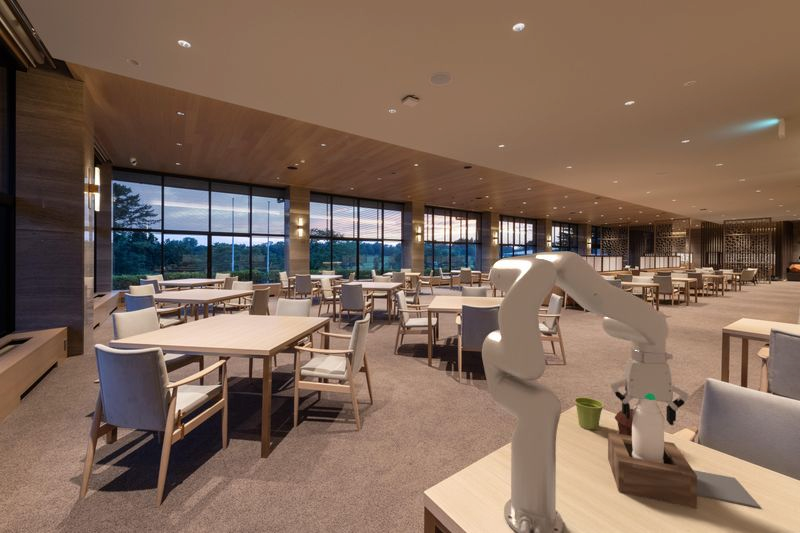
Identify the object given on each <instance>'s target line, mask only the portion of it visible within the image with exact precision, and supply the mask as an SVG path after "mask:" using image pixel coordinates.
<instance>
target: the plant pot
mask: <svg viewBox="0 0 800 533" xmlns="http://www.w3.org/2000/svg"><path fill="white" fill-rule="evenodd" d="M573 402H574V403H575V407H576V411H577V412H576V413H577V419H578V425H579V426H580V427H582V428H583V429H585V430H593V431H594V430H595V431H596V430H598V429H599V425H600V420H601V414H602V410H603V408H604V407H605V406H604V405H605V404H604V403H603V402H601V400H597V399H594V398H591V397H585V396H584V397H583V396H582V397H579V396H578V397H575V398H574V399H573Z"/></svg>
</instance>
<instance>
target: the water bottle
mask: <svg viewBox="0 0 800 533" xmlns="http://www.w3.org/2000/svg"><path fill="white" fill-rule="evenodd" d="M657 402H658V401H655V396H654V394H652V393H651V394H650V393H649V394H646V396H645V399H638V401H637V402H636V403H635V406H634V407H633V408H632V409H633V411H632V416H633V422H632V447H633V451H632V458H638V459H643V460H648V461H654V462H659V463H664V460H663V453H664V442H665V431H664V429H665V428H664V427H665V426H664V424H665V417H664V414H663V412H662V411H661V408H660V406H659V405H658V403H657Z"/></svg>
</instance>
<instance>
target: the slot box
mask: <svg viewBox="0 0 800 533" xmlns="http://www.w3.org/2000/svg"><path fill="white" fill-rule="evenodd" d="M607 444H608V445H607V459H608V460H607V461H608V463H609V466H610V469H611V472H612V476H613V479H614V482H615V485H616V488H617V491H618V492H619V493H622V494H623V493H624V494H629V495H631V496H632V495H633V496H637V497H642V498H647V499H651V500H655V501H660V502H664V503H668V504H669V503H670V504H673V505H678V506H682V507H687V508H691V509H696V510H697V509H698V507H697V506H698V495H697V475H696V473H695V472H694V471H693V470H694V469H693V468H692V466H691V465H690V464H689V462H688V461H687V459H686V458H685V457H684V455H683V454H682V452H681V451H680V449H679V448H678V447H677V445H676V444H675V443H674V442H671V441H670V442H669V441H664V453H663V460H664V463H659V462H654V461H648V460H643V459H638V458H632V451H633V447H632V436H628V435H622V434H619V433H615V432H610V431H608V432H607Z"/></svg>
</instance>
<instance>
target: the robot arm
mask: <svg viewBox="0 0 800 533" xmlns="http://www.w3.org/2000/svg"><path fill="white" fill-rule="evenodd" d="M489 278H490V281H491V284H492V286H494V287H495V288H496V290H498V291H501V292H504V293H506V294H505V296H504V297H503V299H502V301H501V303H500V306H499V310H498V314H497V315H498V316H497V322H498V326H499V327H498V328H499V329H497V330H494V331H492V332H490V333H489V334H488V335H487V336H486V337H485V338H484V341H483V343H482V348H481V358H482V363H483V369H484V374H485V378H486V382H487V383H486V384H487V388H488V391H489V392H488V393H489V394H490V397H491V399H492V401H493V402H494V404H495V405H496V406H497V407H499V408H501V409H502V410H503V411H505V412H507V413H508V414H510V415H511V416H513V417H514V418H515V419H516V420H517V426H516V427H515V428H514V430H513V433H512V435H511V438H510V439H511V440H510V450H511V452H510V456H511V457H510V468H511V469H510V472H511V473H510V499H508V500H507V502H505V505H504V507H503V508H504V509H503V514H504V518H505V521H506V523H507V524H508V525H509V527H510V528H512V530H514V531H515V533H563V532H564V520H563V518H562V515H561V514H560V513H559V511H557V510H556V502H557V501H556V499H557V498H556V496H557V495H556V494H557V492H556V489H557V487H556V486H557V480H556V479H557V476H556V474H557V466H556V465H557V464H556V463H557V459H556V458H557V453H556V452H557V432H558V428H559V426H558V425H559V422H560V418H561V413H562V404H561V400H560V398H559V396H558V395H557V393H556V392H555V391H554V390H553V389H552V388H550V387H549V386H547V385H545V384H543V383H541V382H539V381H536V380H539V379H540V378H541V377H542V376H543V375H544V373H545V370H546V356H545V351H544V344H543V340H542V334H541V328H540V323H539V313H540V311H541V310H540V309H541V307H542V305H543V303H544V301H545V300H546V298H547V296H548V295H549V294H550V293H551V291H552V289H553V288H555V286H556V287H558V288H560V289H561V290H562V291H563V292H565V293H566V294H567V295H568V296H569V297H570V298H572V299H573V300H574V301H575V302H576V303H577V304H578V305H579V306H580V307H581V308H583V309H584V310H586V311H589V312H591V313H594V314H596V315H598V316H601V317H603V319H602V321H601V326H602V329H603V331H604V332H605V333H606V334H607V335H609V336H610V337H612V338H615V339H619V340H624V341H629V342H631V348H630V350H631V357H629V358H627V361H626V364H625V374H624V379H622V380H619V381H616V382H613V383H610V388H611V389H612V391H613V393H614V394H615V397H616V398H618V399H619V400H620V401H621V411H622V413H623V414H624V415H625V417H626V419H630V409H631V408H630V407H631V406H630V403H629V402H630V401H632V400H633V399H638V400H639V399H645V396H646V394H649V393H650V394H651V393H652V394H654V396H655V401H657V402H661V403H662V402H663V403H666V404H667V405H666V410H665V411H666V415H665V416H666V418H665V419H666V421H667V422H668V424H669V425H670V426H674V422H677V421H676V420H677V411H678V410H679V409H680V407H682V406H684V405H685V402H686V401H687V400H688V398H689V397H690V394H689V393H688V392H687V391H684V390H682V389H681V388H679V387H677V386H675V385H673V379H672V372H671V368H670V365H669V364H670V363H668V360H673V358H674V357H673V353H668V352H667V339H668V336H669V325H668V323H667V317H666V315H665V313H664V312H662V311H659V310H657V309H656V308H655V307H654V306H652V304H650V303H649V302H647V301H646V300H644V299H643V298H640V297H638V296H636V295H634V294H632V293H630V292H628V291H626V290H624V289H622V288H620V287H618V286H615V285H613V284H611V283H610V282H609V281H608V280H606V279H605V278H604V277H603V275H601V274H600V273H599V272H598V271H597V269H595V268H594V267H593V265H591V264H590V263H589V262H588V261H587V260H586V259H585V258H584V257H582V256H581V255H580V254H578V253H577V252H573V251H570V250H569V251H567V250H566V251H564V250H563V251H542V252H535V253H531V254H524V255H518V256H510V257H504V258H501V259H499V260H498V261H496V262H495V263H494V264H493V266H492V267H491V270H490V276H489ZM620 388H624V391H625V392H623V394H622V393H621V392H620V391H619V389H620ZM674 393H675V394H677V395H679V396H678V398H676V399H674V400H673V397H674Z"/></svg>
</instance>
